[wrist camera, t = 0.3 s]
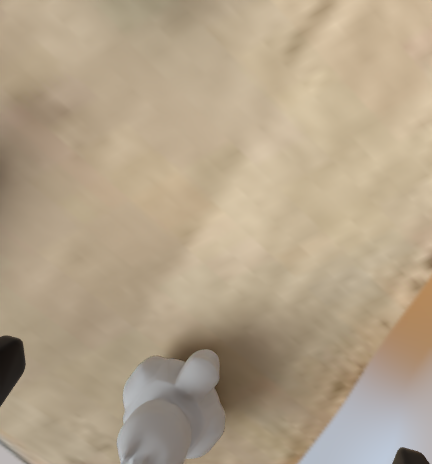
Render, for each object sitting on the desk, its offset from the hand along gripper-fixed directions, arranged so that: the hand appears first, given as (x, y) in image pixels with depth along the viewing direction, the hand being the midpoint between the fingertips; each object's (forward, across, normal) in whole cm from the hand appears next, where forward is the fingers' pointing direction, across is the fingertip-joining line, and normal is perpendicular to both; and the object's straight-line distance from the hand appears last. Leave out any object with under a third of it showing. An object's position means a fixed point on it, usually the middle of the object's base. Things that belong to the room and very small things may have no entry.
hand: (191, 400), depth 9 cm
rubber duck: (+10, +3, +10) cm, 15 cm away
